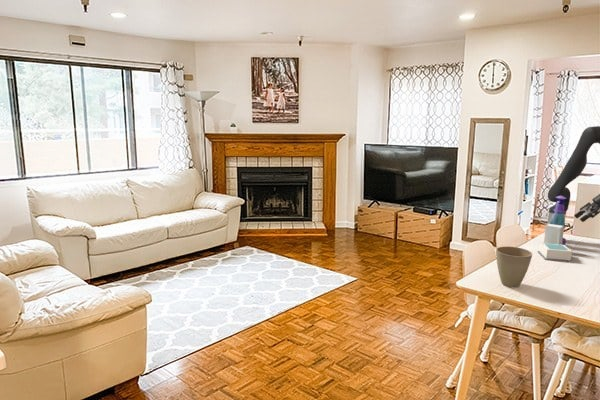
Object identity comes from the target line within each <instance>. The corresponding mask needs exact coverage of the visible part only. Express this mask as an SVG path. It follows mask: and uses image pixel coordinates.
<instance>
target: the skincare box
mask: <svg viewBox="0 0 600 400" xmlns="http://www.w3.org/2000/svg"><path fill="white" fill-rule="evenodd" d="M563 230H565V229H564V226H561V225H554V224H547V223H546V225H545V227H544V238H543V239H544V241H543V243H546V244H558V245H562V241H563V238H564V231H563Z"/></svg>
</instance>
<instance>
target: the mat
mask: <svg viewBox="0 0 600 400" xmlns="http://www.w3.org/2000/svg"><path fill="white" fill-rule="evenodd" d="M537 253H538V254H539V255H540V256H541V257H542V259H544V260H545V261H555V262H567V263H568V262H569V261H570V260H560V259H548V258H545V257H544V256H543V255H542V253H541V252H540V250H537Z"/></svg>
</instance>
